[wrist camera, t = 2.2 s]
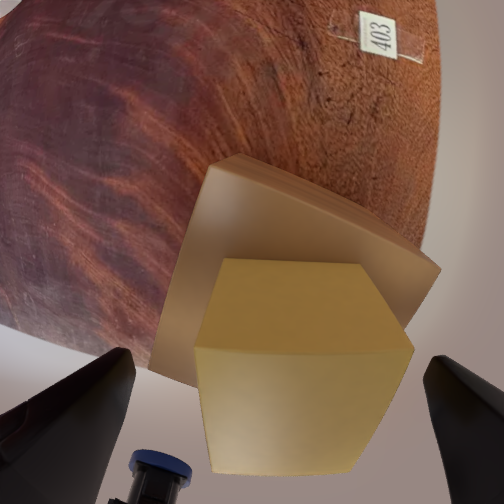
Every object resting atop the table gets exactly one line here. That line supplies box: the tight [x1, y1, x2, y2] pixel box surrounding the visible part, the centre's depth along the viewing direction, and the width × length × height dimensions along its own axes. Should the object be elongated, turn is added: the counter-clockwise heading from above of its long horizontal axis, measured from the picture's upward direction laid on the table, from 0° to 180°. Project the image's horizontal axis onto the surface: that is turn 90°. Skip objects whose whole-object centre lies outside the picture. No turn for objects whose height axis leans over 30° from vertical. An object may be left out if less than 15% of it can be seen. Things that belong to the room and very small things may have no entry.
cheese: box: [193, 258, 414, 476], centre depth 7 cm, size 5×4×4 cm
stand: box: [148, 153, 441, 388], centre depth 13 cm, size 8×8×9 cm
